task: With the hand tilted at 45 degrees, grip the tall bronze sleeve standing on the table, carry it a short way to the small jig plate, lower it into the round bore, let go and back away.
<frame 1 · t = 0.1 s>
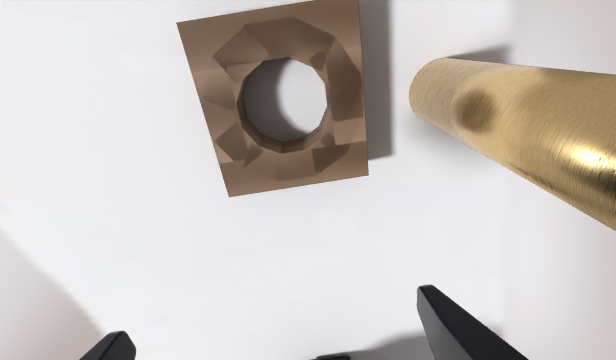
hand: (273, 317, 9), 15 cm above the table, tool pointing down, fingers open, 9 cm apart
bronze sleeve: (439, 91, 21), on the table
jig plate: (285, 101, 20), on the table
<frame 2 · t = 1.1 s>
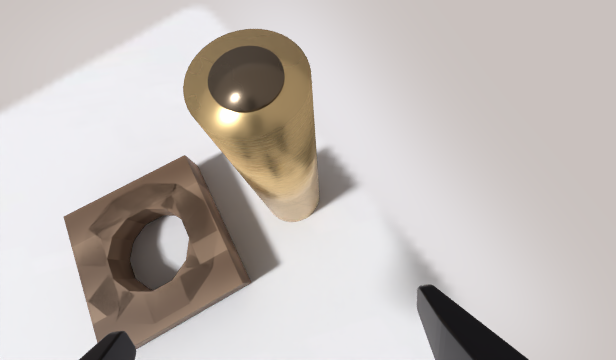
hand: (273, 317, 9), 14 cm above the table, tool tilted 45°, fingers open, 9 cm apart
bronze sleeve: (292, 195, 24), on the table
jig plate: (166, 251, 23), on the table
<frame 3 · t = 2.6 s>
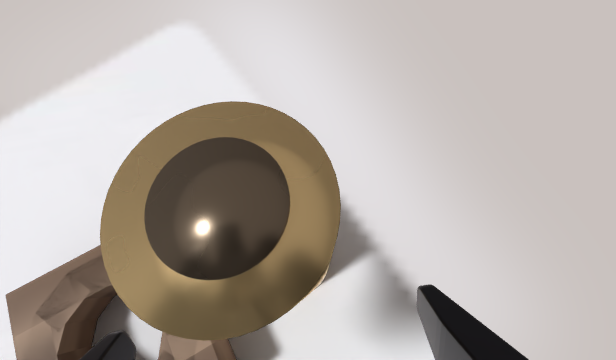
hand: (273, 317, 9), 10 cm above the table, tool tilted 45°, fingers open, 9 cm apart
bronze sleeve: (296, 259, 19), on the table
jig plate: (137, 333, 18), on the table
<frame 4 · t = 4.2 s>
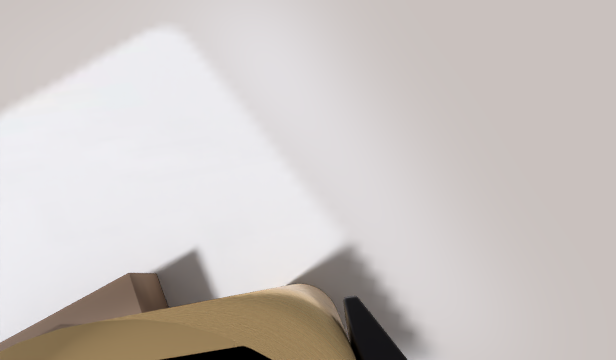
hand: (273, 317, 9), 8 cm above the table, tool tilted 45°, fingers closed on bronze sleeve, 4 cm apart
bronze sleeve: (299, 327, 16), on the table, touching gripper
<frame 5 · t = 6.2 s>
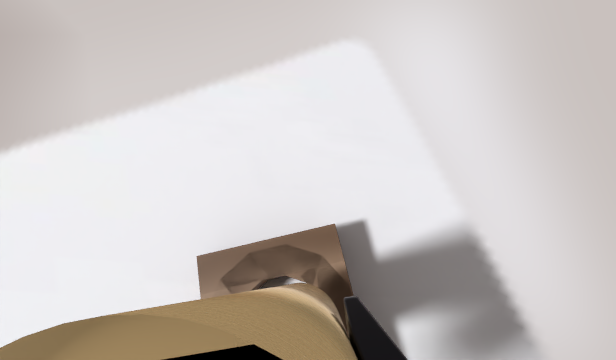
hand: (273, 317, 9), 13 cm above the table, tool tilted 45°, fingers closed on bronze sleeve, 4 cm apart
bronze sleeve: (299, 326, 16), point 6 cm above the table, touching gripper
jig plate: (285, 318, 21), on the table
when the fingers open (9 cm above the table, at t = 8.3 s): bronze sleeve drops 1 cm, resting in jig plate.
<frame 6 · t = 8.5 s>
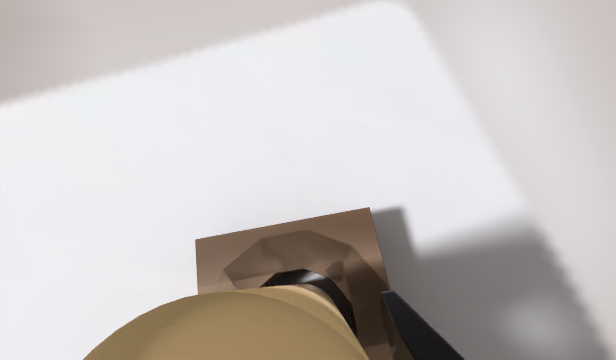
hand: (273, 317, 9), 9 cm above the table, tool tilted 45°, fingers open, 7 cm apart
bronze sleeve: (302, 323, 17), resting in jig plate
jig plate: (302, 322, 17), on the table
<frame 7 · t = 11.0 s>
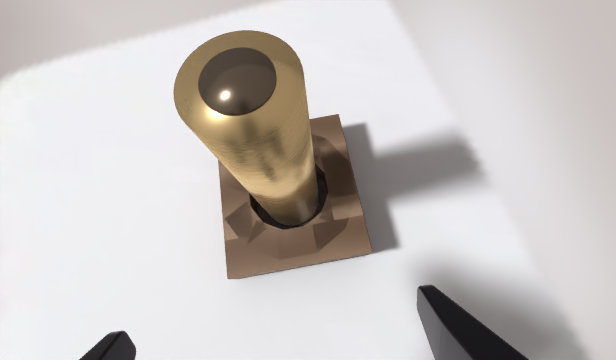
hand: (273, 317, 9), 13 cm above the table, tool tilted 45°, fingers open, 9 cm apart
bronze sleeve: (292, 198, 24), resting in jig plate
jig plate: (291, 198, 24), on the table
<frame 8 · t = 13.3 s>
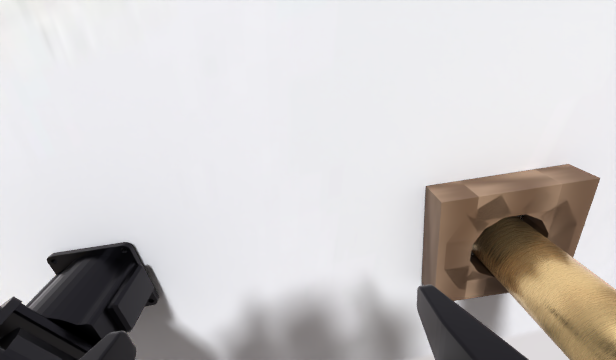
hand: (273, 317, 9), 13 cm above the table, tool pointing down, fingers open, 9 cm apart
bronze sleeve: (487, 228, 24), resting in jig plate
jig plate: (488, 228, 24), on the table
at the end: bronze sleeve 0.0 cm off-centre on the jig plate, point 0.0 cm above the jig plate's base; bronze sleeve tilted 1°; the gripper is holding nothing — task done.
